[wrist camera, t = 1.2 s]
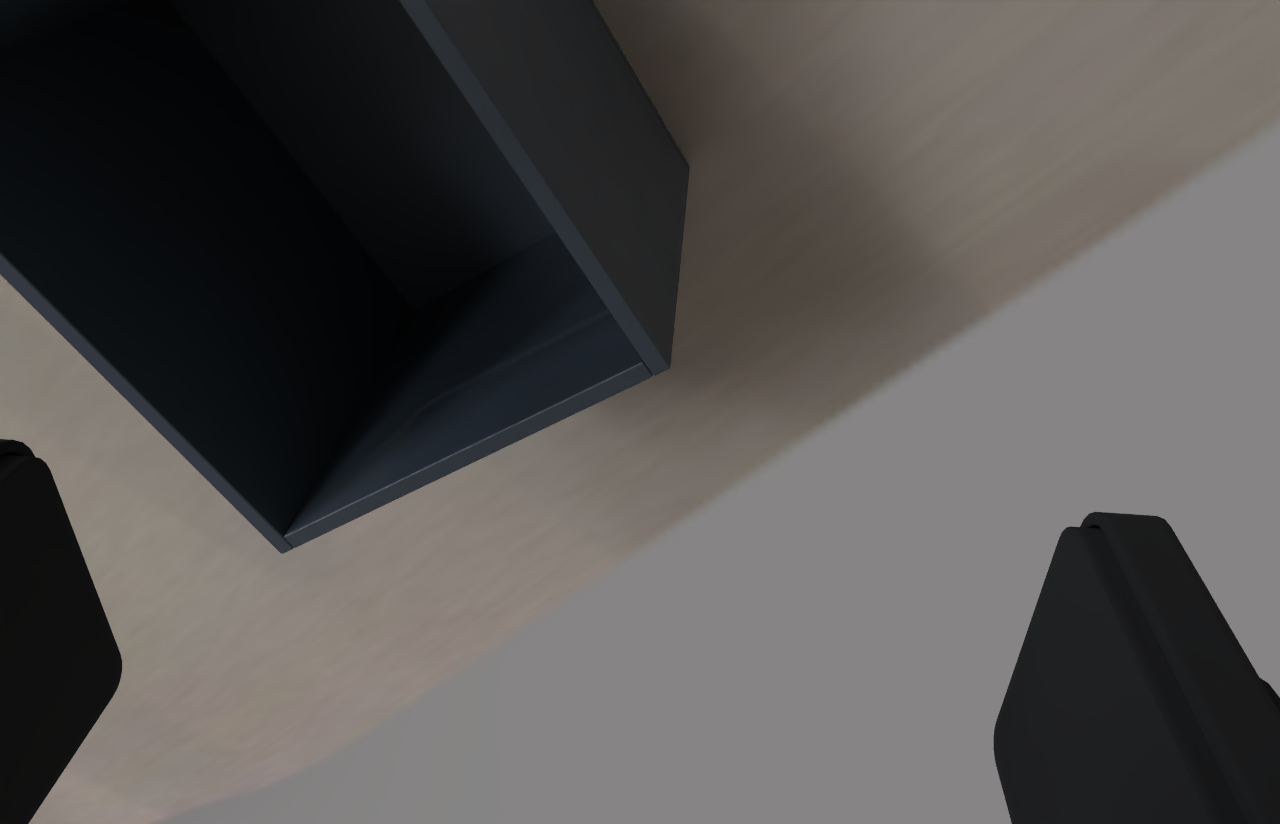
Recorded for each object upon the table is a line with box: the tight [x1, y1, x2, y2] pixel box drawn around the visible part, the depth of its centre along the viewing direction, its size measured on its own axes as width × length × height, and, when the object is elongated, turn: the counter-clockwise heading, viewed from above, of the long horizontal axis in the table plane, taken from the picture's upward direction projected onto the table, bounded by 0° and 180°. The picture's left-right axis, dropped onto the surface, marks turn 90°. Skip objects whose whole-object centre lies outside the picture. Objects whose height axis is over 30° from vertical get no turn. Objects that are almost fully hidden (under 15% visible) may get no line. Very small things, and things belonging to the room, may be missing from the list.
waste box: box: [0, 0, 690, 554], centre depth 29 cm, size 15×13×14 cm
